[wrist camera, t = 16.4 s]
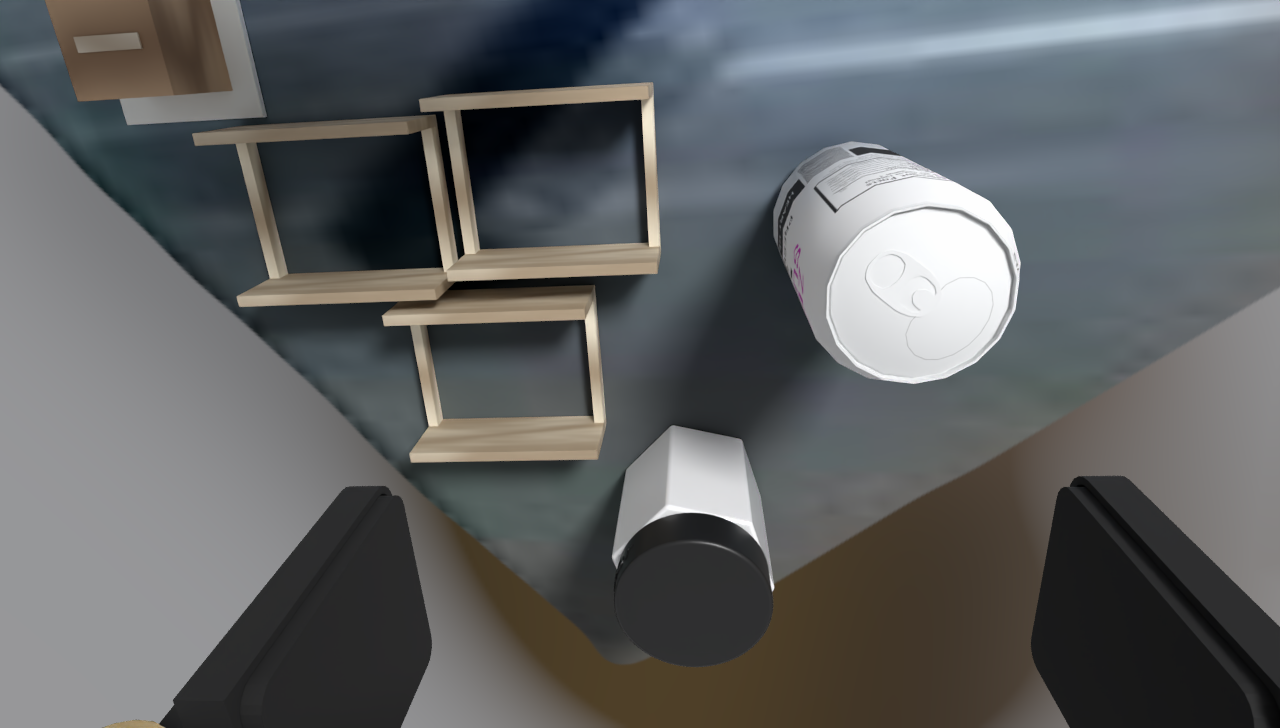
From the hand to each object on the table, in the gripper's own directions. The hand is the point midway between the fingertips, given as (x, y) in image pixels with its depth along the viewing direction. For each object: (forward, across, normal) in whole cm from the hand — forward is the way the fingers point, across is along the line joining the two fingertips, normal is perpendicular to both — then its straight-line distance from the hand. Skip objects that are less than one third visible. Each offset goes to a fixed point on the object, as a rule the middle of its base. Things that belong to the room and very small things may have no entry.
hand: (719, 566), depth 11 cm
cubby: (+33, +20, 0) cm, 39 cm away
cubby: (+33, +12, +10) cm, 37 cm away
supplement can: (+34, -8, +2) cm, 34 cm away
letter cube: (+33, +28, -9) cm, 44 cm away
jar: (+34, +1, +19) cm, 39 cm away
